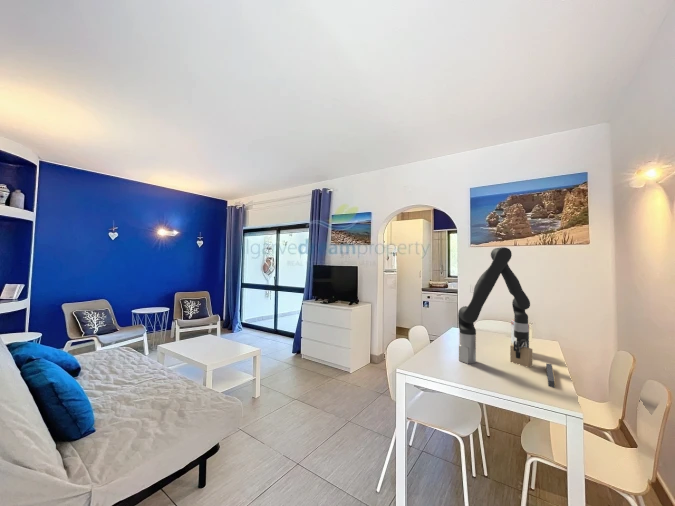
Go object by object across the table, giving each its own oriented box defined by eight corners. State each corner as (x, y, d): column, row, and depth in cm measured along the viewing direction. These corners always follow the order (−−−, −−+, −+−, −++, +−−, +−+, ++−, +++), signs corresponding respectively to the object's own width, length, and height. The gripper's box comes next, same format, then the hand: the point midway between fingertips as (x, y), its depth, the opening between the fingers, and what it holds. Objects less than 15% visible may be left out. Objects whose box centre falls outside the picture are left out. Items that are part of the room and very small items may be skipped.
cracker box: (529, 356, 180) (529, 324, 181) (519, 355, 181) (519, 323, 182) (520, 349, 194) (520, 319, 194) (510, 348, 195) (510, 319, 196)
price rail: (555, 387, 136) (555, 381, 136) (548, 386, 137) (548, 380, 137) (552, 369, 158) (552, 364, 158) (546, 368, 160) (546, 363, 160)
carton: (532, 365, 165) (532, 348, 165) (528, 367, 162) (528, 350, 162) (514, 360, 173) (514, 344, 173) (510, 361, 170) (510, 345, 170)
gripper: (519, 327, 175) (519, 352, 174) (508, 330, 167) (508, 357, 166) (533, 329, 168) (533, 356, 168) (522, 333, 161) (522, 361, 160)
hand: (521, 356), depth 167 cm, fingers open, 8 cm apart
